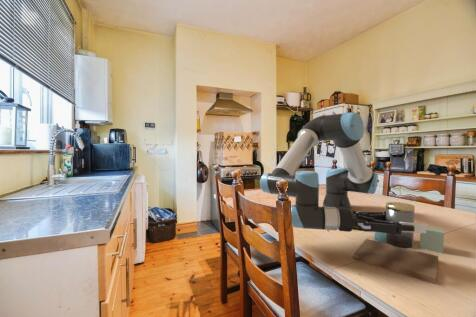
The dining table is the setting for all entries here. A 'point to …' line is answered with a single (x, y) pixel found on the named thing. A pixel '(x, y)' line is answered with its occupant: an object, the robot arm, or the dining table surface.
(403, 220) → the tea tin
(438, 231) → the sage box
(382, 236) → the teal domed cylinder
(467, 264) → the dining table surface
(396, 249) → the walnut board
